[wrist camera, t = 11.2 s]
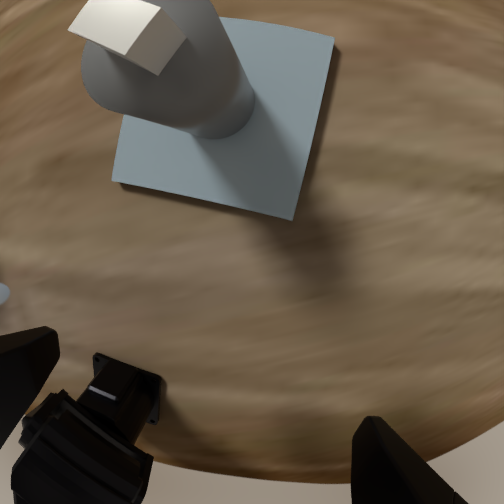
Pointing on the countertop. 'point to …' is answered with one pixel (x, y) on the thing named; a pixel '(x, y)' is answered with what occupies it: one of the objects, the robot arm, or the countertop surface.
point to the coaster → (250, 136)
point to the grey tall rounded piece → (164, 64)
